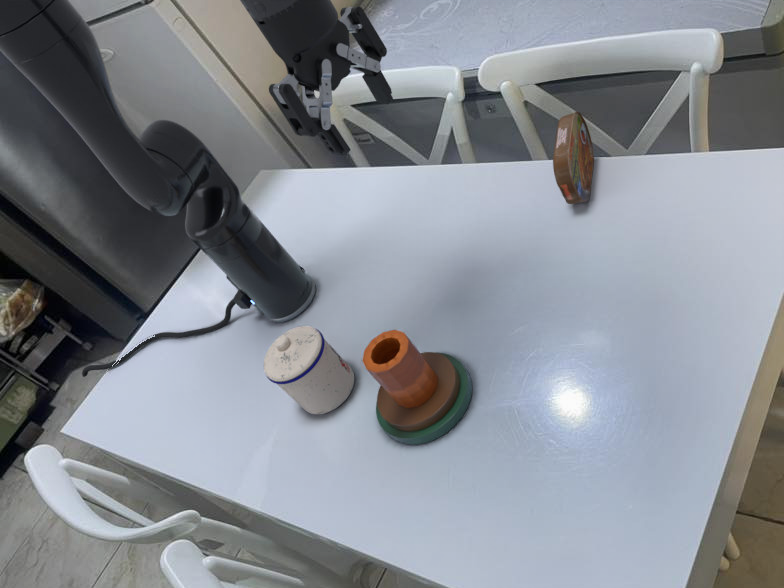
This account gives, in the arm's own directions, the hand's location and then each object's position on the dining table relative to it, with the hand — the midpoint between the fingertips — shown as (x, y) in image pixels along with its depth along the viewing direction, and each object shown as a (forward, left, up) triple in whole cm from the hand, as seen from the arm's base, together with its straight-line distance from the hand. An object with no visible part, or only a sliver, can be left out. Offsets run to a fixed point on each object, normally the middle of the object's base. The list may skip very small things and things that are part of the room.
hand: (365, 127), depth 80 cm
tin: (+13, +20, -28) cm, 37 cm away
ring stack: (+1, -19, -28) cm, 34 cm away
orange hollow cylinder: (+1, -19, -25) cm, 31 cm away
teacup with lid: (-17, -18, -28) cm, 38 cm away
